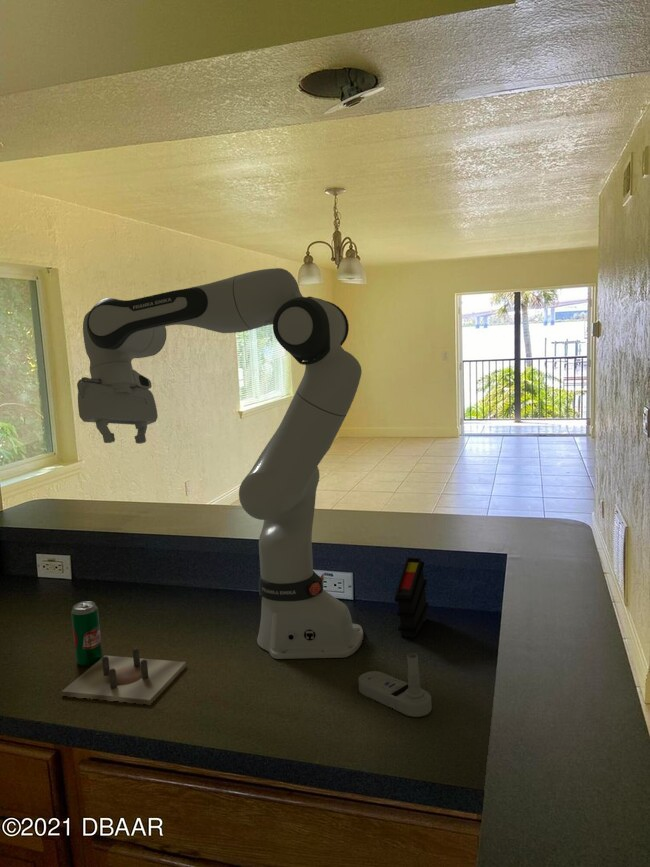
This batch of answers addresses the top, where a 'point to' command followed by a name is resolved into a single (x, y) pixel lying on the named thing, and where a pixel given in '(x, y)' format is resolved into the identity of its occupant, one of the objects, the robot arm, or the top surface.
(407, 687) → the electronic device
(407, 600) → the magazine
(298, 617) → the robot arm
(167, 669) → the can tray
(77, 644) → the soda can
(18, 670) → the top surface
